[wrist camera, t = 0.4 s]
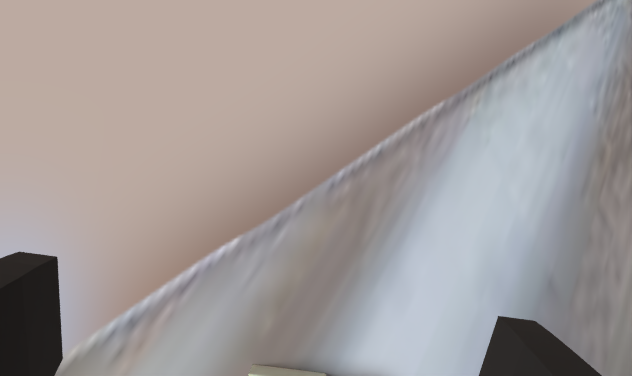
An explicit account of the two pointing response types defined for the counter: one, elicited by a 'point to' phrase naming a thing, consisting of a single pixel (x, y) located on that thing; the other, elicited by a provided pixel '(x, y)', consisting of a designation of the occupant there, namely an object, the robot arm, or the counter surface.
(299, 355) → the counter surface
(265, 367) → the cabinet box
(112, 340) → the counter surface
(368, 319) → the counter surface
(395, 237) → the counter surface
